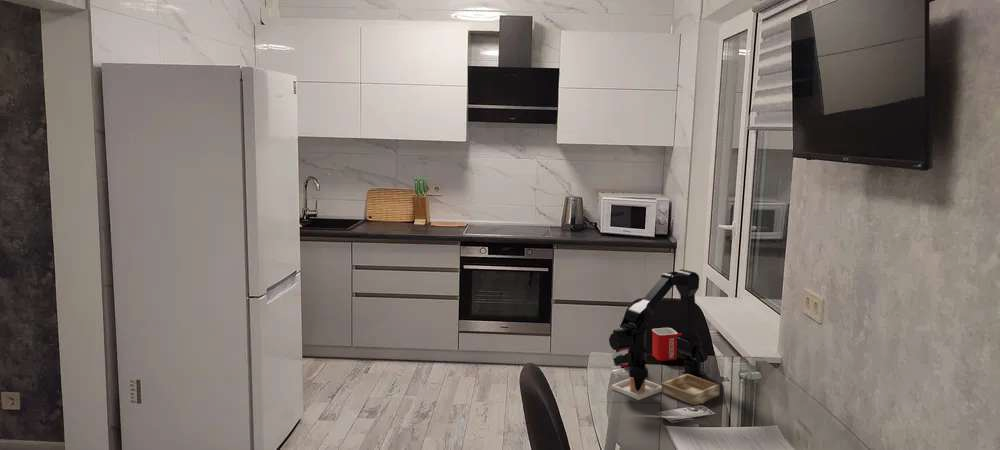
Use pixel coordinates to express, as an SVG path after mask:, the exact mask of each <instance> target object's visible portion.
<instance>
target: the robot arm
mask: <svg viewBox="0 0 1000 450" xmlns="http://www.w3.org/2000/svg"><path fill="white" fill-rule="evenodd" d="M674 286H675V288H676V290H677V291H678V293H679V295H680V312H681V313H680V315H681V318H680V319H681V333H682V334H681V335H679V336H677V339H676V340H677V347H676V348H677V350H678V351H677V352H679V355H680V357H681V358H684V369H683V370H684V371H682V372H680V373H681V374H682V375H684V374H690V375H693V376H695V377H698V378H701V377H703V376H705V375H706V374H707V373H706V372H703V363H705V362H706V361H708V357H709V354H708V353H707V352H706V351H705V350H704V349H703V346H702V345H703V344H702V340H701V338H700V335H698V333H697V319H696V317H697V316H696V294H697V291H698V290H699V289H700V276H699V274H698V273H697V272H695V271H691V270H686V269H682V268H681V269H678V270H677V271H670V272H663V273H662V274H661V275H660V278H659V280H657V282H656V283H655V284H654V286H652V288H650V290H649V291H648V292H647V294H646V295H645V296H644V297H643V298H642V299H641V300H640V301H638V302H636V303H633V304H632V305H631V306H630V307H629V308H628V309H627V311H626V312H625V315H624V317H623V319H622V320H621V323H620V325H619V328H622V329H619V328H618V329H616V328H615V329H613V330H612V333H611V334H610V335H609V338H608V343H609V346H610V348H612V350H613V351H617V352H613V354H612V355H611V356H612V361H613V363H614V366H615V367H619V366H620V364H624V363H627V362H628V366H629V368H628V375H629V378H630V377H633V378H634V383H635V387H636V390H637V391H639V390H640V388H641V386H642V384H643V382H644V380H646V378H649V369H648V367H647V365H646V364H647V357H646V356H647V345H646V344H647V339H646V338H647V334H646V333H647V332H649V331H652V328H651V327H649V326H648V324H649V322H650V321H651V320H652V318H653V314H654V310H655V308H656V307H657V306H658V305H659V303H660V302H662V300H663V298H665V296H666V295H667V294H668V292H669V291H670V290H671V289H672V288H673V287H674ZM633 325H634V326H633ZM624 348H628V349H627V350H622V351H619V350H620V349H624Z"/></svg>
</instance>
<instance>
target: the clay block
mask: <svg viewBox="0 0 1000 450" xmlns="http://www.w3.org/2000/svg"><path fill="white" fill-rule="evenodd" d="M629 378H630V392H639V393H644V392H645V380H646V379H645V380H644V382H643V384H642V386H641V388H640V390H639V391H637V390H636V387H635V383H634V378H633V377H629Z"/></svg>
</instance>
